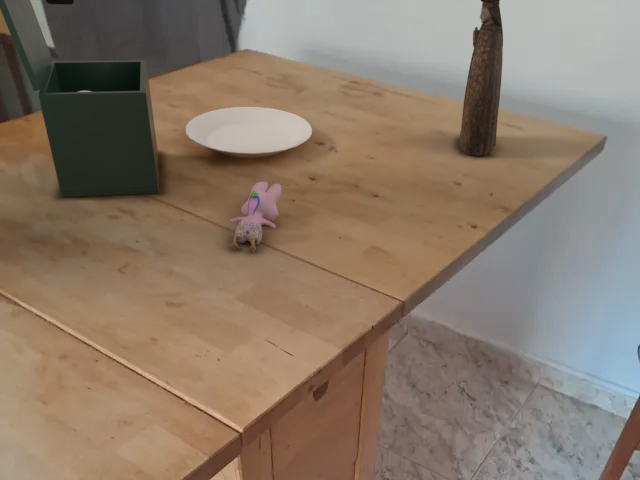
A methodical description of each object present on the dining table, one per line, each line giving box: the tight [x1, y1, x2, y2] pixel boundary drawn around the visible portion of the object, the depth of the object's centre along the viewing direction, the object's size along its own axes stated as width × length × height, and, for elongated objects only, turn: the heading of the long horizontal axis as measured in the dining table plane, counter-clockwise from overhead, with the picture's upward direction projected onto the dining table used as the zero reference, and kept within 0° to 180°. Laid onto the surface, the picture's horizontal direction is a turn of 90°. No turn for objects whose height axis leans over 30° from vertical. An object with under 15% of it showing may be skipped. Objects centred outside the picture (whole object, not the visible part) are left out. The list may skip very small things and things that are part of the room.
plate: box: [185, 106, 313, 159], centre depth 114 cm, size 21×21×2 cm
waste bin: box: [38, 59, 160, 198], centre depth 99 cm, size 14×15×14 cm
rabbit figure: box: [229, 181, 283, 253], centre depth 91 cm, size 6×6×15 cm
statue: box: [459, 0, 504, 157], centre depth 109 cm, size 9×8×25 cm
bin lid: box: [0, 0, 52, 92], centre depth 88 cm, size 14×15×5 cm
